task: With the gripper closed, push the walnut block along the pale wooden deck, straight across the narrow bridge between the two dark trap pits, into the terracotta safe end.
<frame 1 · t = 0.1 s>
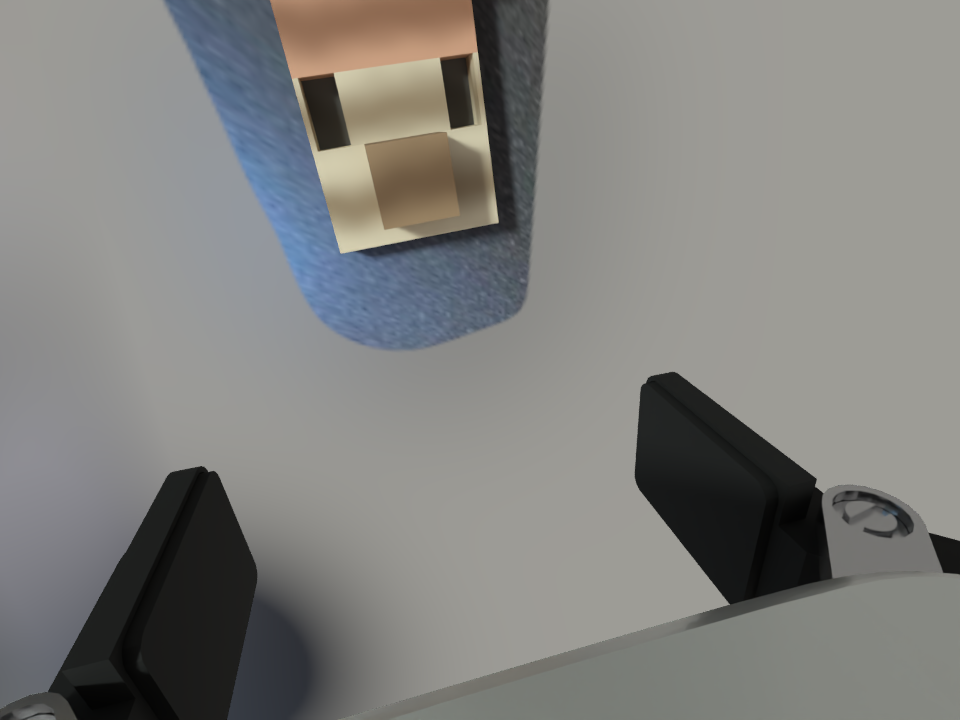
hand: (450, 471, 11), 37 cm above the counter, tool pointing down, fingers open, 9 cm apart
block: (409, 177, 40), point 3 cm above the counter, touching deck
deck: (393, 110, 40), on the counter
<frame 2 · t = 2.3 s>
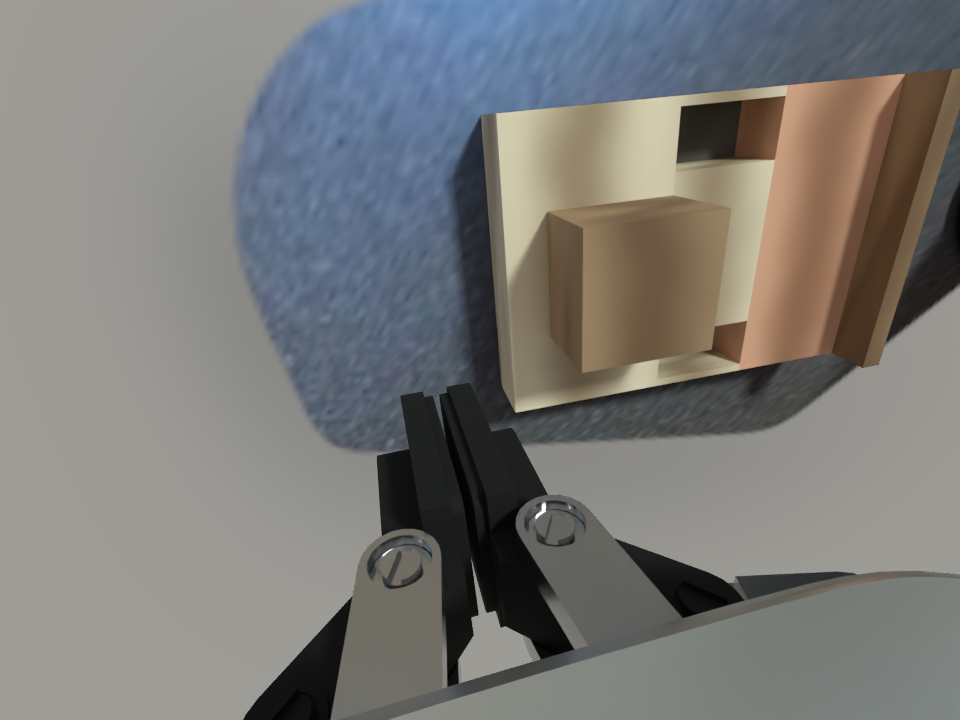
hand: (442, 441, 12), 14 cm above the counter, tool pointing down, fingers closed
block: (609, 268, 23), point 3 cm above the counter, touching deck
deck: (671, 241, 26), on the counter
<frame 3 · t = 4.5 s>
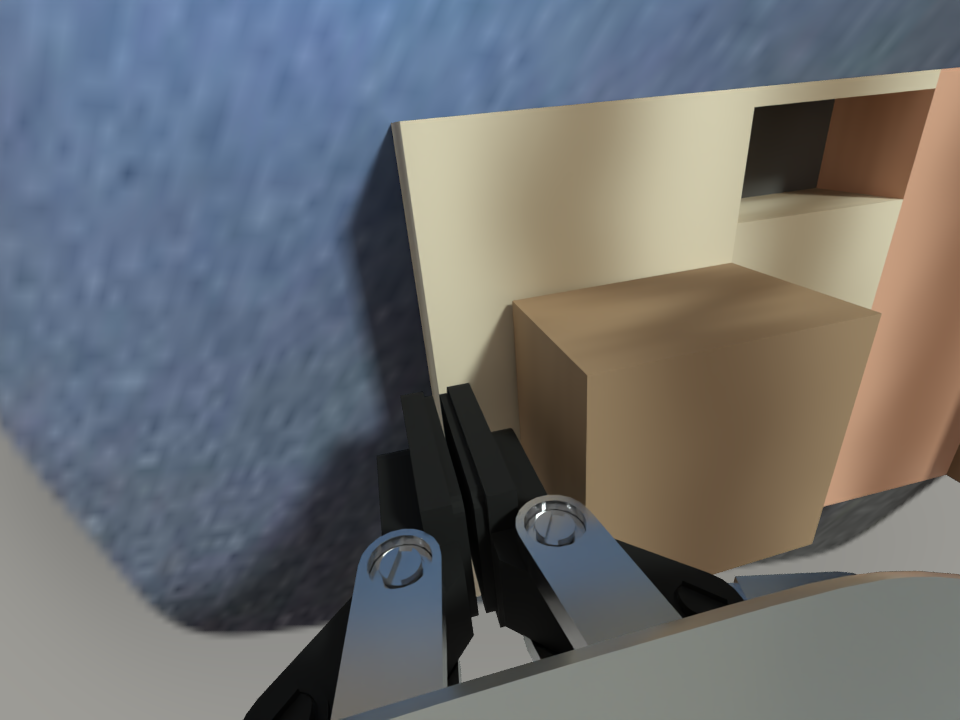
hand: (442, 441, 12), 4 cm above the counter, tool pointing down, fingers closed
block: (621, 385, 13), point 3 cm above the counter, touching deck, gripper
deck: (711, 317, 17), on the counter
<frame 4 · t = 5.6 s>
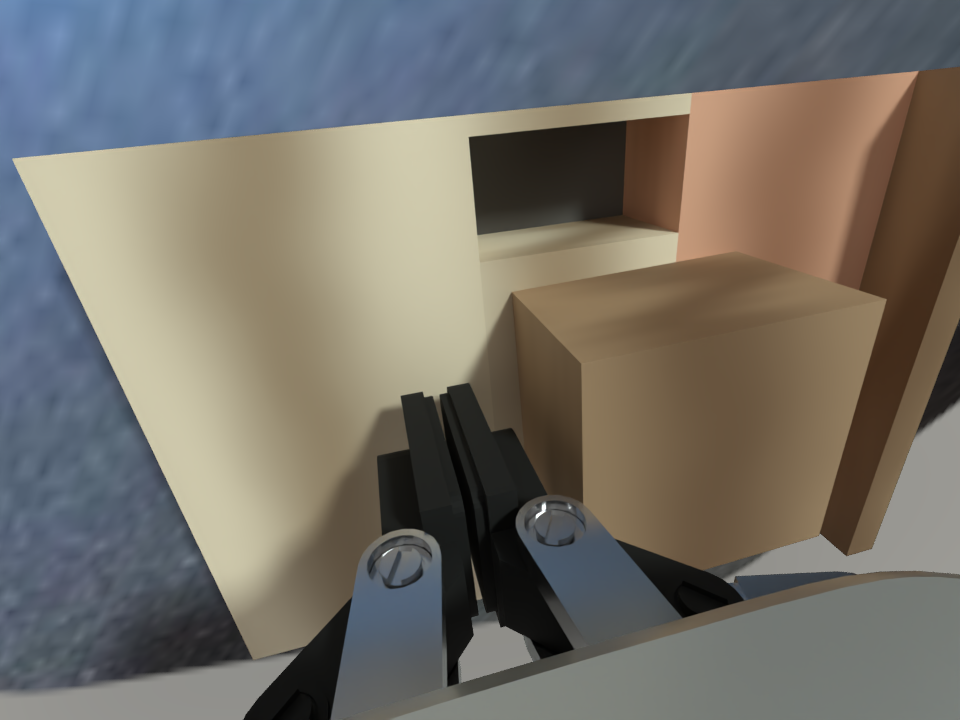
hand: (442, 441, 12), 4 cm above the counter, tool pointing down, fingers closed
block: (624, 376, 13), point 3 cm above the counter, touching deck, gripper
deck: (529, 352, 16), on the counter
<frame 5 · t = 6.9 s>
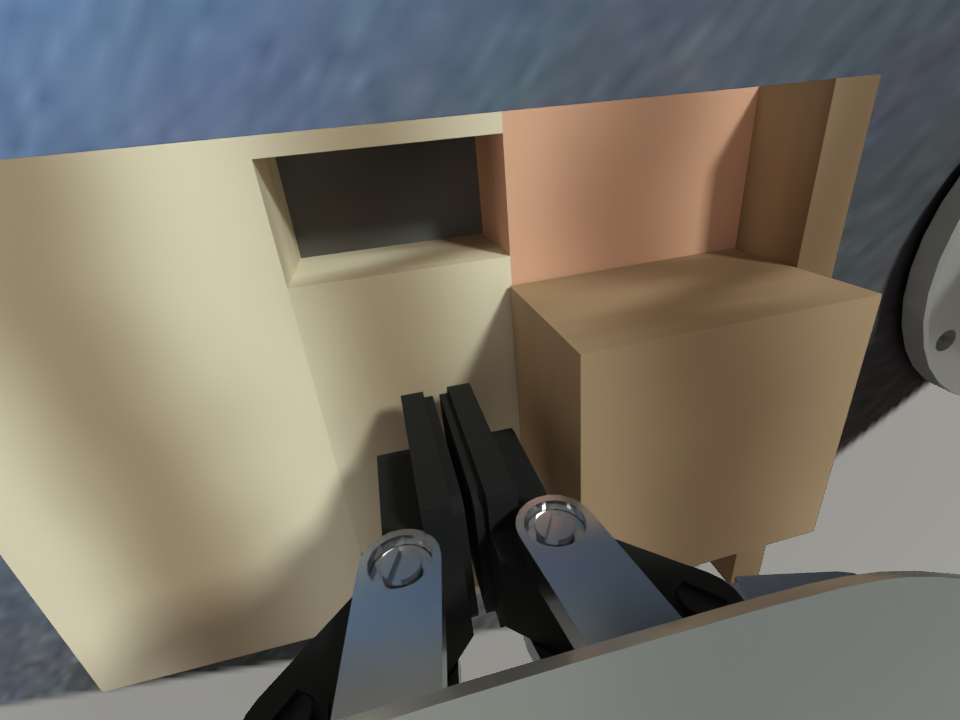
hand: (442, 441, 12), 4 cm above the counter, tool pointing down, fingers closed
block: (621, 372, 13), point 3 cm above the counter, touching deck, gripper
deck: (399, 373, 15), on the counter
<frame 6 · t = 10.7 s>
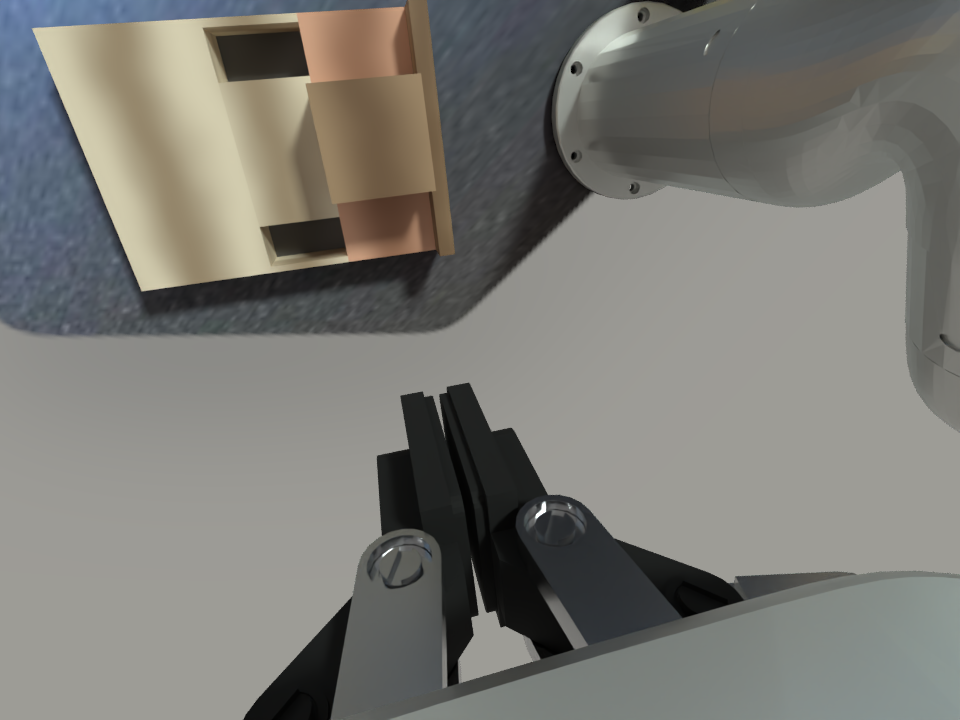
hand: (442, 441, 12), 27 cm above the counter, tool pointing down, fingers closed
block: (372, 139, 30), point 3 cm above the counter, touching deck
deck: (281, 153, 32), on the counter
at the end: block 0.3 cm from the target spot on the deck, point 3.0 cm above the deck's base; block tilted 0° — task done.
